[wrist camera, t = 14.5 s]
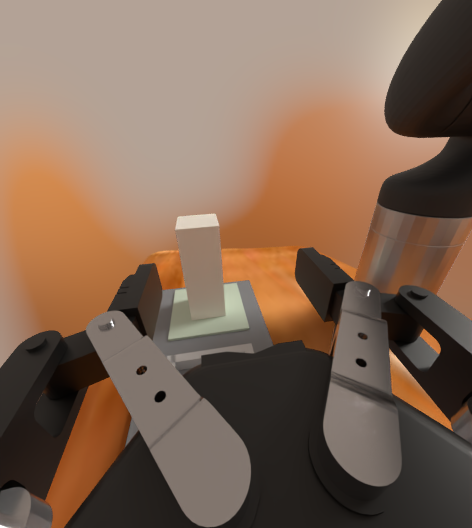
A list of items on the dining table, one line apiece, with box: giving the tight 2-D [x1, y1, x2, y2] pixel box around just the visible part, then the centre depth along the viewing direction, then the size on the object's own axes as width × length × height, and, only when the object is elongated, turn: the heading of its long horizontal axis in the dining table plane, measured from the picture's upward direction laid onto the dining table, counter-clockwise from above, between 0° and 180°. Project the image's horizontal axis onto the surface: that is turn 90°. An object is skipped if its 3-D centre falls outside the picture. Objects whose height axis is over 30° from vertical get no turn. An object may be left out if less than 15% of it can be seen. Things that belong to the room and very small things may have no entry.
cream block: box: [175, 214, 226, 320], centre depth 30 cm, size 5×5×14 cm
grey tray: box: [125, 280, 274, 447], centre depth 28 cm, size 28×16×3 cm, turn 9°
